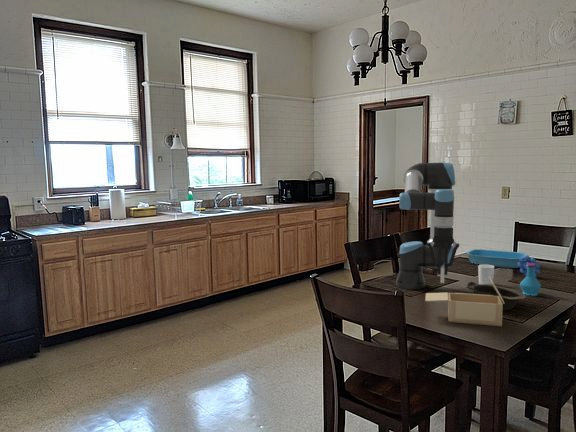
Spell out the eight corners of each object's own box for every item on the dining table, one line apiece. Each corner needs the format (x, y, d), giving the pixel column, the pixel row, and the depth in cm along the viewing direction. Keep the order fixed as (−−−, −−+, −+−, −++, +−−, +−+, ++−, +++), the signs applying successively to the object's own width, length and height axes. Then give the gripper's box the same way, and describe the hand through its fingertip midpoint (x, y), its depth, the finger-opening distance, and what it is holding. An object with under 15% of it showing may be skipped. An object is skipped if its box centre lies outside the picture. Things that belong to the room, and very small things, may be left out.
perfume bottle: (529, 297, 221) (530, 266, 219) (515, 292, 230) (516, 262, 228) (545, 295, 224) (546, 265, 222) (530, 290, 232) (531, 261, 231)
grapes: (515, 277, 259) (516, 256, 257) (517, 274, 264) (518, 254, 263) (539, 279, 252) (540, 258, 251) (540, 277, 258) (541, 256, 257)
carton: (448, 322, 189) (449, 301, 188) (447, 312, 201) (448, 292, 200) (502, 327, 183) (502, 305, 181) (497, 316, 195) (498, 295, 194)
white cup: (495, 286, 240) (496, 267, 239) (479, 286, 242) (479, 267, 241) (491, 282, 248) (492, 264, 247) (476, 282, 250) (476, 264, 248)
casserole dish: (461, 264, 294) (461, 253, 293) (470, 257, 312) (470, 247, 311) (525, 271, 273) (526, 259, 272) (531, 264, 291) (531, 253, 290)
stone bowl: (456, 305, 210) (457, 285, 210) (479, 297, 228) (480, 278, 227) (513, 316, 193) (515, 294, 192) (534, 307, 210) (535, 287, 210)
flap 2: (492, 283, 183) (493, 283, 183) (489, 277, 193) (490, 276, 193) (503, 303, 182) (504, 303, 182) (500, 296, 193) (501, 295, 193)
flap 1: (425, 293, 202) (426, 294, 202) (425, 300, 192) (425, 301, 192) (447, 292, 199) (447, 293, 199) (448, 299, 189) (448, 300, 189)
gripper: (426, 227, 190) (425, 283, 192) (460, 228, 185) (459, 285, 188) (427, 225, 197) (426, 279, 199) (460, 225, 192) (458, 281, 195)
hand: (442, 282), depth 194 cm, fingers closed
